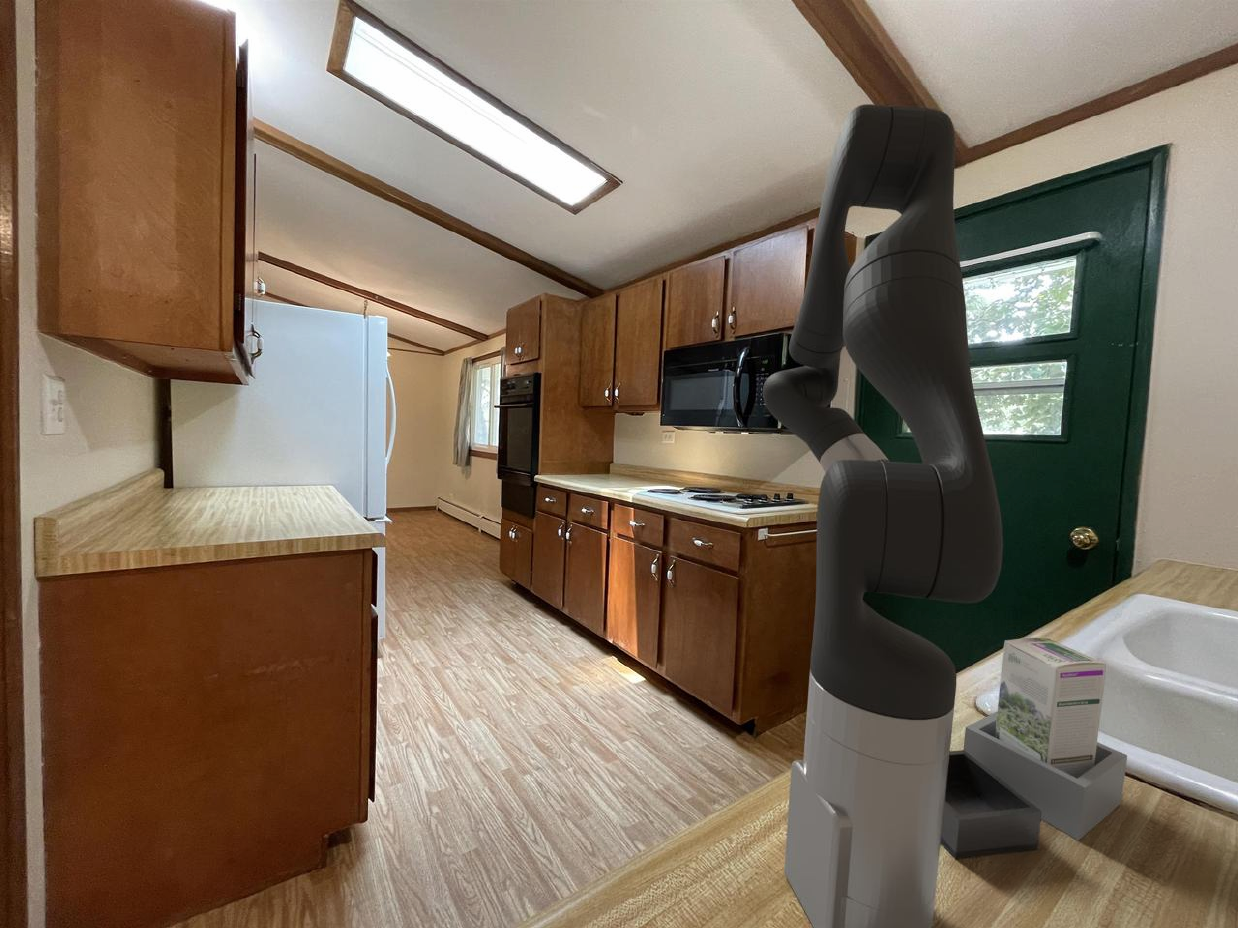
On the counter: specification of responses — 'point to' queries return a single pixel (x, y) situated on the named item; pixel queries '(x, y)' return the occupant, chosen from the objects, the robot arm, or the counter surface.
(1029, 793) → the light gray open bin
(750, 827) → the counter surface
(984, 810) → the bin
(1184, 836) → the counter surface
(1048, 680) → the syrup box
